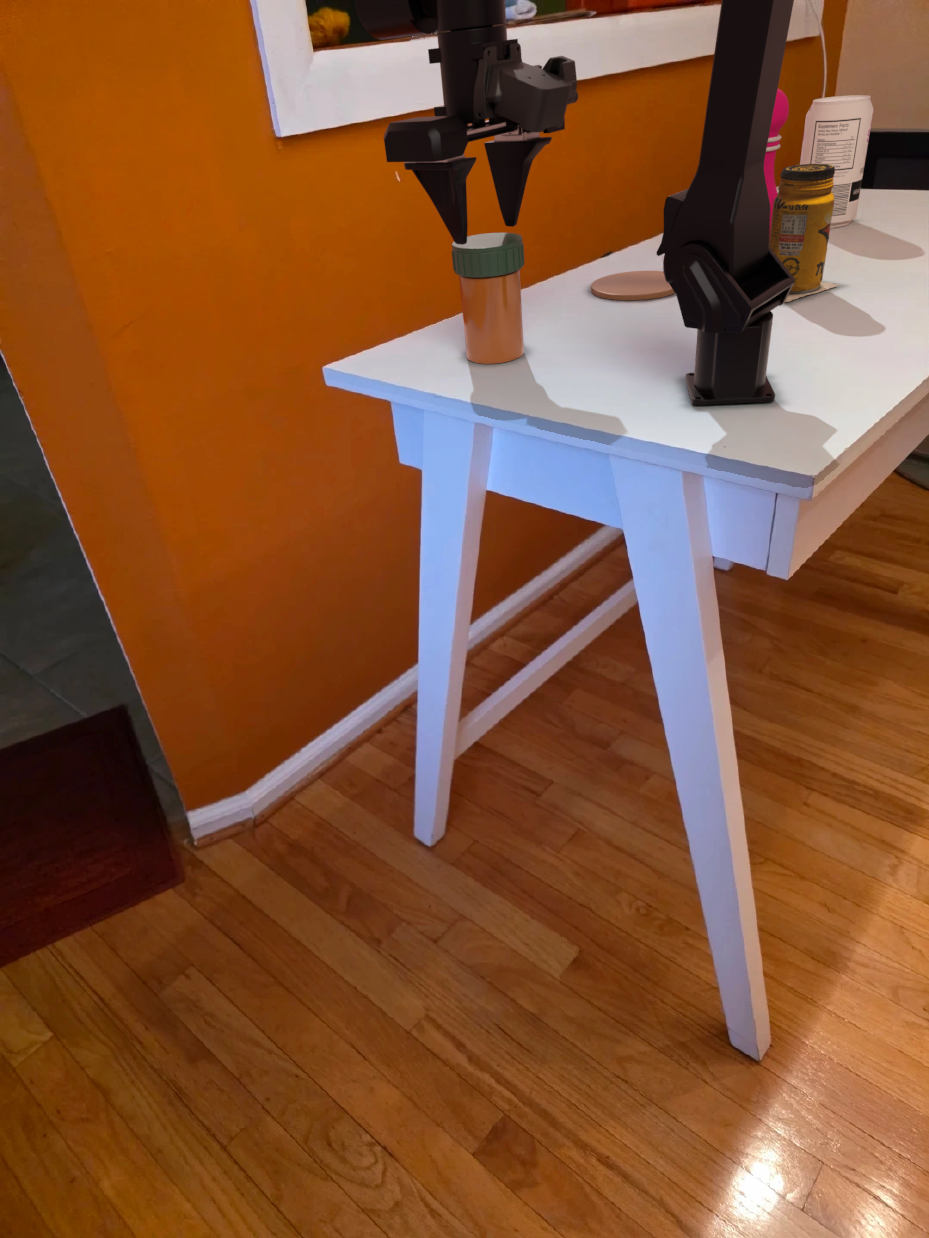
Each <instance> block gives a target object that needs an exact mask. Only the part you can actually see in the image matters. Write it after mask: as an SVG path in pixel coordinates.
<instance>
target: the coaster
mask: <svg viewBox="0 0 929 1238" xmlns="http://www.w3.org/2000/svg"><path fill="white" fill-rule="evenodd" d="M590 292H591V293H592V294H593V295H594V296H596V297H598V298H603V299H606V300H613V301H614V300H615V301H642V300H643V301H644V300H645V301H646V300H652V299H659V298H664V297H668V296H671V295H674V294H676V293H675V292H674V290H673V289H672V287H671V286H670V284H669V283H667V282H666V280H665V276H664V272H663V271H661V270H633V271H623V272H617V273H613V274H609V275H604V276H602V277H599V278H597V279H595V280H594V281H593V282H592V283H591V284H590Z"/></svg>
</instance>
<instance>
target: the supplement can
mask: <svg viewBox="0 0 929 1238" xmlns="http://www.w3.org/2000/svg"><path fill="white" fill-rule="evenodd" d="M873 116H874V106H873V103H872V100H871V95H869V94H868V95H866V94H865V95H864V94H852V95H840V96H839V95H836V96H829V97H822V98H815V99H813V100H812V104H811V105H810V107H809V109H808V111H807V113H806V114H805V120H804V121H805V122H804V129H803V136H802V145H801V153H800V160H799V161H800V162H799V165H802V164H828V165H832V166H833V167H835V174H834V178H833V184H834V185H833V188H832V191H831V192H832V193H833V195H834V207H833V213H832V219H831V226H830V229H833V228H840V227H846V226H847V225H849V224H851V222H852V221H854V219H856V217H857V213H858V206H859V200H860V194H861V189H862V183H863V176H864V170H865V164H866V158H867V152H868V147H869V146H868V145H869V141H870V133H871V128H872V121H873Z"/></svg>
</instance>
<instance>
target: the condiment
mask: <svg viewBox="0 0 929 1238" xmlns="http://www.w3.org/2000/svg"><path fill="white" fill-rule="evenodd" d="M834 174H835V167H833V166H832V165H828V164H802V165H800V164H795V165H791V166H786V167H783V168H782V170H781V173H780V174H779V176H780V182H779V185H778V187H777V193H778V194H777V197H776V198H775V200H774V203H773V212H772V220H771V229H770V237H769V247H770V248H771V249H772V250H773V252H774V253H775V254H776V256H777V257H778V258H779V259H780V261H781V262H782V263H783V265H784V266H785V267H786V268H787V270H788V271H789V272H790V273H791V275H792V276H793V277H794V280H795V282H794V284H793V287H792V289H791V291H790V293H789V295H788V297H787V299H786V301H785V303H789V302H791V301H794V300H798V299H799V298H803V297H807V296H809V295H814V294H818V293H820V292H823V291H827V290H830V289H833V288H835V287H837V286H838V285H839V283H835V282H834V283H833V282H828V281H827V282H826V281H825V282H823V277H824V272H825V271H824V270H825V267H826V266H825V264H826V260H827V253H828V252H827V251H828V244H829V240H830V232H831V228H830V226H831V219H832V213H833V207H834V195H833V193H832V192H831V191H832V188H833V185H834V184H833V178H834Z"/></svg>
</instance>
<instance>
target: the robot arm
mask: <svg viewBox="0 0 929 1238" xmlns="http://www.w3.org/2000/svg"><path fill="white" fill-rule="evenodd" d="M720 2H721V4H720V10H719V18H718V25H717V32H716V37H715V46H714V53H713V58H712V59H713V60H712V66H711V74H710V82H709V89H708V95H707V103H706V109H705V117H704V123H703V130H702V137H701V145H700V151H699V157H698V164H697V168H696V171H695V174H694V176H693V178H692V181H691V183H690V184H689V187H688V188H686V189H683V190H682V191H679V192H676V193H674V194H671V195H668V196H667V197H666V198H665V201H664V206H663V234H662V238H661V241H660V245H659V247H658V248H657V250H656V252H655V253H656V256H657V257H659V256H662V255H664V256H663V259H662V260H663V261H662V263H663V264H662V270H663V272H664V276H665V280H666V282H667V283H669V284H670V286H671V287H672V289H673V290H674V292H675V293H674V294H675V295H676V299H677V302H678V306H679V311H680V314H681V317H682V322H683V326H684V327H685V328H686V329H695V330H697V331H696V345H695V359H694V360H695V362H694V372H687V373H686V374H685V382H686V387H687V389H688V390H687V391H688V394H689V398H690V402H691V404H692V405H696V406H707V405H708V406H709V405H710V406H711V405H729V404H730V405H731V404H732V405H733V404H734V405H735V404H753V403H756V404H757V403H772V402H775V400H776V393H775V391H774V389H773V387H772V384H771V383H770V381H769V379H768V376H767V371H768V370H767V369H768V363H769V362H768V361H769V354H770V345H771V338H772V329H773V321H774V313H773V312H772V311H773V310H774V309H776V308H777V307H780V306H782V305H783V304H785V303H786V302H785V301H786V299H787V297H788V295H789V293H790V291H791V289H792V287H793V284H794V282H795V280H794V277H793V276H792V275H791V273H790V272H789V271H788V270H787V268H786V267H785V266H784V265H783V263H782V262H781V261H780V259H779V258H778V257H777V256H776V254H775V253H774V252H773V250H772V249H771V248H770V247H769V230H770V201H769V196H768V190H767V185H766V180H765V174H764V159H765V154H766V148H767V143H768V138H769V132H770V127H771V121H772V116H773V111H774V105H775V100H776V94H777V89H779V84H780V79H781V74H782V73H781V72H782V67H783V61H784V56H785V52H786V46H787V41H788V35H789V28H790V25H791V20H792V19H791V18H792V14H793V13H792V12H793V8H794V3H795V0H721V1H720ZM354 6H355V9H356V13H357V17H358V18H359V21H360V23H361V25H362V26H363V28H364V30H365V31H366V32H367V33H368V34H369V35H370V36H371V37H373V38H374V39H377V40H380V41H381V40H392V39H398V38H399V39H400V38H406V37H407V38H408V37H416V36H422V35H431V34H433V33H435V32H437V33H436V36H437V46H438V47H436V48H434V47H433V48H428V49H427V50H428V51H427V52H428V54H427V55H428V62H429V63H428V64H430V65H431V64H439V66H440V78H441V88H442V100H443V105H439V106H438V105H437V106H433V113H434V116H416V117H412V118H407V119H402V120H397V121H391V122H389V123H388V126H387V128H386V129H385V131H384V134H383V143H384V151H385V159H386V163H403V166H404V170H406V171H412V173H413V174H414V177H416V179H417V181H418V182H419V183H420V185H421V186H422V188H423V190H424V191H425V192H426V194H427V196H428V197H429V199H430V201H431V203H432V204H433V206H434V208H435V210H436V211H437V213H438V215H439V217H440V218H441V220H442V222H443V223H444V226H445V227H446V229H447V231H448V233H449V235H450V237H451V238H452V240H453V242H455V243H456V244H462V245H463V244H466V243H467V236H468V228H469V227H468V226H469V225H468V196H467V179H468V176H469V174H470V173H471V171H472V169H473V167H474V165H475V164H476V161H477V156H469V157H467V156H466V155H465V151H466V148H467V146H468V144H469V143H470V142H475V141H479V140H483V139H486V138H487V139H488V138H491V137H493V139H494V140H489V141H485V142H484V144H483V145H484V149H485V153H486V158H487V161H488V166H489V170H490V174H491V177H492V181H493V186H494V189H495V194H496V197H497V202H498V206H499V210H500V213H501V216H502V219H503V222H504V224H505V227H512V228H513V227H516V226H517V224H518V221H519V216H520V212H521V208H522V202H523V199H524V194H525V191H526V186H527V181H528V178H529V175H530V171H531V167H532V164H533V161H534V159H535V158H536V157H537V155H539V154H540V152H541V151H542V150H543V149H544V147H545V146H547V145H549V144H550V143H551V141H552V139H553V137H552V136H540V133H543V134H551V133H555V132H560V131H564V130H565V129H566V123H565V122H566V121H565V119H566V118H565V115H566V112H567V108H568V105H572V104H574V103H577V102H578V99H579V93H578V91H577V87H578V79H577V78H578V77H577V69H576V68H577V67H576V60H574V59H571V58H569V57H566V56H564V55H558V56H552V57H551V56H550V57H549V59H548V60H547V61H546V63H545V64H544V66H543V65H540V64H534V65H532V64H528V63H527V62H523V59H522V47H521V44H520V43H519V41H518V40H519V38H513V39H512V38H511V39H508V29H507V12H506V11H507V10H506V0H354Z"/></svg>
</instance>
